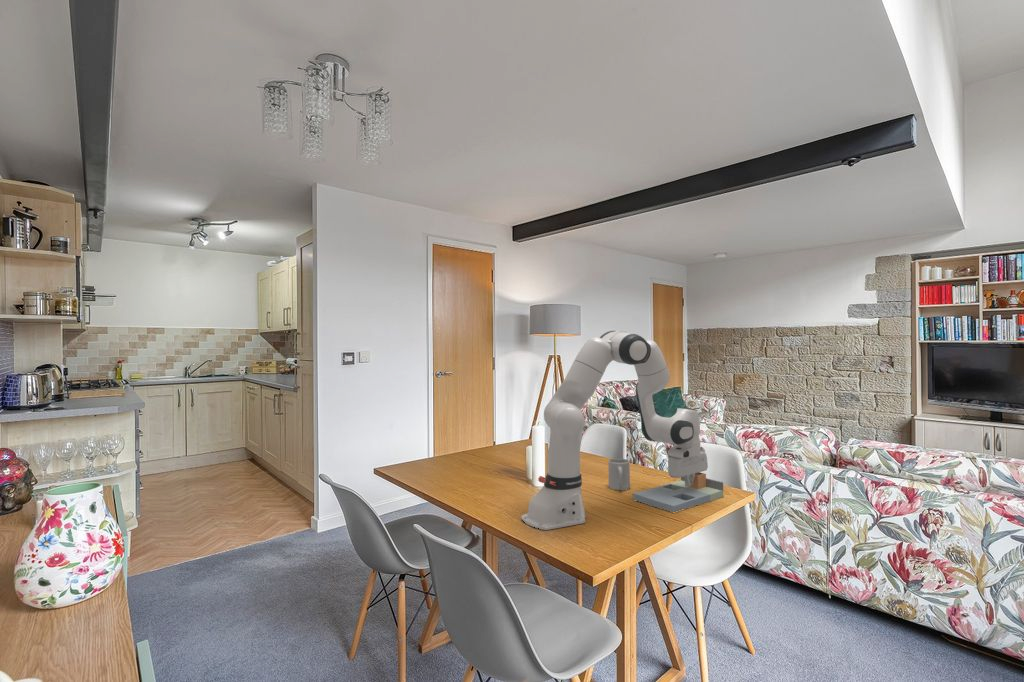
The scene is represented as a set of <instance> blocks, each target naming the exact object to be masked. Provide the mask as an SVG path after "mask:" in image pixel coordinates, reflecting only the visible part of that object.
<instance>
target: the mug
mask: <svg viewBox="0 0 1024 682" xmlns="http://www.w3.org/2000/svg"><path fill="white" fill-rule="evenodd" d="M607 461H608V466H607V467H608V468H607V469H608V488H609V489H610V488H611V490H613V489H615V490H614V491H619V490H623V491H627V490H626V489H628V490H630V489H629V488H631V479H630V478H631V477H630V475H631V473H630V472H631V471H630V460H629V459H627V458H620V457H619V458H618V457H617V458H610V459H608V460H607Z"/></svg>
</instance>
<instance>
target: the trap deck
mask: <svg viewBox="0 0 1024 682" xmlns="http://www.w3.org/2000/svg"><path fill="white" fill-rule="evenodd" d="M721 498H724V481H720V480H715V479H712V478H707V477H706V487H704V488H700V489H696V488H693V487H687V486H685V481H684V479H683V477H680V480H677V481H674V482H670V483H667V484H662V485H659V486H656V487H652V488H648V489H644V490H640V491H637V492H633V493H632V501H634V500H636V501H635V502H637V501H639V502H638V503H640V502H642V503H641V504H643V503H645V504H644V505H646V504H648V505H647V506H649V505H651V506H650V507H652V506H654V507H653V508H655V507H657V508H656V509H658V508H661V509H664V510H663V511H665V510H668V511H671V512H676V511H679V510H682V509H686V508H689V507H692V506H695V507H697V506H696V505H698V506H700V505H699V504H701V505H703V503H704V504H706V502H707V503H709V501H710V502H712V501H715V500H718V499H721ZM692 508H693V507H692ZM661 509H660V510H661ZM689 509H690V508H689ZM686 510H687V509H686ZM668 511H667V512H668ZM671 512H670V513H671Z"/></svg>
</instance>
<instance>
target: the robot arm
mask: <svg viewBox="0 0 1024 682" xmlns="http://www.w3.org/2000/svg"><path fill="white" fill-rule="evenodd" d="M613 361H615V362H616V363H619V364H625V365H628V366H629V365H631V366H633V367H634V370H635V372H636V375H637V383H636V385H635V395H636V401H637V404H638V405H637V406H638V410H639V415H640V421H641V422H640V425H641V427H640V428H641V429H640V430H641V433H642V435H643V438H645V440H646V441H649V442H657V443H658V442H659V443H665V444H671V445H673V446H672V447H671V448H669V449H668V450H667V456H668V460H667V473H668V475H669V477H670V478H675V479H681V477H683V479H684V481H685V486H687V487H689V486H692V485H693V480H694V478H695V473H699V472H700V473H704V472H706V471H707V470H708V468H709V465H708V457H707V453H706V451H705V448H704V447H702V446H701V440H700V432H701V422H700V415H699V412H698V410H696V409H694V408H689V407H677V409H676V413H674V414H673V415H672V416H670V417H665V416H661V415H660V414H658V413H657V412H656V409H655V403H654V399H653V395H655V394H657V393H659V392H660V391H662V390H664V389H665V388H666V387H667V386H668V384H669V382H670V378H671V377H670V370H669V367H668V366H667V365H668V364H667V362H666V360H665V357H664V354H663V352H662V350H661V349H660V347H659V345H658V344H657V342H656V341H654V340H652V339H645V338H644V337H643V336H641V335H639V334H635V333H630V332H628V331H623V330H617V331H616V330H610V331H606V332H605V333H603V334H602V335H601V336H600V337H599V336H598V337H594V336H593V337H590V338H588V339H587V340H586V342H585V343H584V345H583V346H582V347H581V348H580V350H579V352H578V353H577V355H576V357H575V358H574V361H573V362H572V364H571V366H570V367H569V370H568V371H567V374H566V375H565V378H564V380H562V382H561V384H560V386H559V387H558V388H557V390H556V391H555V393H554V394H553V395H552V397H551V399H550V400H549V402H548V403H547V404H546V405H545V408H544V409H543V419H544V421H545V424H546V425H547V426H548V427H549V431H550V433H549V443H548V449H547V473H546V475H545V476H541V475H540V476H538V477H537V481H538V482H539V483H541V484H543V486H542V487H541V488H540V490H538V492H536V493H535V495H534V496H532V498H531V499H530V500H529V501H528V508H527V513H524V514H522V515H521V516H520V519H522V520H523V521H524V522H525V523H524V522H523V521H522V520H521V521H522V522H523V523H524V524H526V525H527V526H530V527H532V528H534V527H535V529H538V528H539V529H538V530H542V531H543V530H544V531H548V530H553V529H561V528H565V527H570V526H571V527H572V526H574V525H575V526H576V525H581V524H585V523H586V517H587V514H586V512H585V508H584V503H583V502H584V501H583V496H582V488H581V487H582V485H583V482H582V480H583V479H582V473H581V447H582V446H581V445H582V439H583V432H584V428H585V425H586V424H585V423H586V420H585V415H584V414H583V411H582V410H581V409H583V406H584V405H585V404H586V403H587V401H588V400H589V399H590V398H592V396H593V395H594V393H595V391H596V389H597V387H598V386H599V385H600V384H599V383H600V381H601V380H602V377H603V376H604V373H605V371H606V370H607V367H608V366H609V365H610V364H611V362H613Z"/></svg>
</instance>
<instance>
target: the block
mask: <svg viewBox="0 0 1024 682" xmlns="http://www.w3.org/2000/svg"><path fill="white" fill-rule="evenodd" d="M706 478H707V473H705V472H699V473H695V478H694V480H693V485H692V486H689V487H693V488H696V489H700V488H704V487H706Z"/></svg>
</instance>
